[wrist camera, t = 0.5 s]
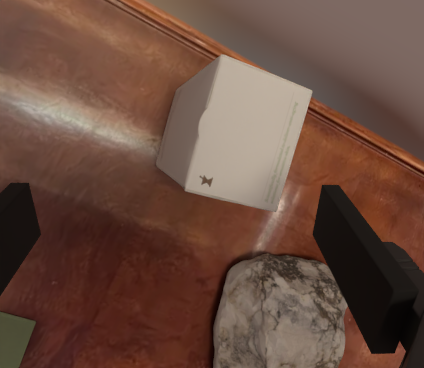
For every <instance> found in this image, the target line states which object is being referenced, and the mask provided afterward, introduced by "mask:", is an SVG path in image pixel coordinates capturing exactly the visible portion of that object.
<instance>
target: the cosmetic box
mask: <svg viewBox="0 0 424 368" xmlns="http://www.w3.org/2000/svg"><path fill="white" fill-rule="evenodd" d="M311 95H312V90H309V89H307V88H305V87H303V86H300V85H298V84H296V83H293V82H291V81H288V80H286V79H283V78H281V77H278V76H276V75H274V74H271V73H269V72H266V71H264V70H261V69H259V68H256V67H254V66H251V65H249V64H246V63H243V62H241V61H238V60H236V59H233V58H231V57H228V56H226V55H220V56H219V57H218V58H217V59H215V60H214V61H213V62H211V63H210V64H209V65H207V66H206V67H205V68H204V69H202V70H201V71H200V72H198V73H197V74H196V75H195V76H193V77H192V78H191V79H189V80H188V81H187V82H186V83H184V84H183V85H182V86H180V87H179V88H178V89H177V90H176V92H175V95H174V99H173V102H172V106H171V109H170V113H169V116H168V120H167V124H166V127H165V131H164V134H163V138H162V142H161V145H160V149H159V153H158V157H157V161H156V166H157V167H158V168H159V169H160V170H162V171H163V172H164V173H166V174H167V175H168V176H170V177H171V178H172V179H173V180H175V181H176V182H177V183H179V184H180V185H181V186H182V187H183V188H184V190H185V191H186V192H191V193H195V194H199V195H203V196H207V197H211V198H215V199H220V200H224V201H229V202H233V203H237V204H242V205H246V206H250V207H255V208H259V209H263V210H268V211H273V212H276V211H277V208H278V205H279V201H280V198H281V194H282V191H283V187H284V184H285V181H286V178H287V174H288V171H289V168H290V165H291V161H292V158H293V155H294V151H295V148H296V145H297V142H298V139H299V135H300V132H301V129H302V125H303V122H304V119H305V115H306V112H307V108H308V105H309V101H310V98H311Z"/></svg>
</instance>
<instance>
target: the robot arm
mask: <svg viewBox="0 0 424 368" xmlns="http://www.w3.org/2000/svg"><path fill="white" fill-rule="evenodd" d="M40 235H41V232H40V228H39V224H38V220H37V216H36V211H35V207H34V203H33V199H32V195H31V190H30V186H29V183H10V184H9V185H8V186H7V187H6V188H5V189H4V190H3V191H2V192H1V193H0V296H1V294H2V293H3V291H4V290H5V288H6V287H7V285H8V283H9V282H10V280H11V279H12V277H13V276H14V274H15V273H16V271H17V270H18V268H19V267H20V265H21V264H22V262H23V261H24V259H25V258H26V256H27V255H28V253H29V252H30V250H31V249H32V247H33V246H34V244H35V243H36V241H37V240H38V238H39V237H40ZM313 236H314V238H315V240H316V242H317V244H318V246H319V248H320V250H321V252H322V254H323V256H324V258H325V260H326V263H327V265H328V267H329V269H330V271H331V273H332V275H333V277H334V279H335V281H336V283H337V285H338V287H339V289H340V291H341V293H342V295H343V297H344V299H345V301H346V303H347V305H348V307H349V309H350V311H351V313H352V315H353V317H354V319H355V321H356V323H357V325H358V327H359V329H360V331H361V333H362V335H363V337H364V339H365V341H366V343H367V346H368V348H369V350H370V352H371V354H386V353H395V350H396V348H397V345H398V343H399V340H400V342H401V344H402V346H403V347H404V349H405V351H406V353H405V355H404V358H403V360H402V362H401V365H400V367H399V368H424V273H423V272H422V271H421V270H419V267H418V266H417V265H416V263H415V262H413V260H412V259H411V257H410V256H409V255H408V254H407V253H406V251H405V250H403V249H402V248H400V247H399V246H398V245H396V244H395V243H393V242H382V241H381V240H380V238H379V237H378V236H377V235H376V233H375V232H374V231H373V229H372V228H371V227H370V225H369V224H368V223H367V221H366V220H365V219H364V218H363V216H362V215H361V214H360V212H359V211H358V210H357V208H356V207H355V206H354V205H353V203H352V202H351V201H350V199H349V198H348V197H347V195H346V194H345V193H344V191H343V190H342V189H341V188H340V186H339V185H322V189H321V194H320V199H319V204H318V209H317V214H316V220H315V225H314V230H313Z"/></svg>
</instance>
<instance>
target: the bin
mask: <svg viewBox="0 0 424 368" xmlns="http://www.w3.org/2000/svg"><path fill="white" fill-rule="evenodd" d="M35 323H36V321H33V320H29V319H25V318H22V317H18V316H14V315H10V314H7V313H3V312H0V368H19V366H20V363H21V361H22V358H23V355H24V353H25V350H26V347H27V345H28V342H29V339H30V337H31V334H32V331H33V329H34V326H35Z"/></svg>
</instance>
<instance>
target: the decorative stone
mask: <svg viewBox="0 0 424 368" xmlns="http://www.w3.org/2000/svg"><path fill="white" fill-rule="evenodd" d="M346 308H347V303H346V301H345V299H344V297H343V295H342V293H341V291H340V289H339V287H338V285H337V283H336V281H335V279H334V277H333V275H332V273H331V271H330V269H329V267H328V266H327V265H325V264H323V263H321V262H319V261H316V260H305V259H303V258H299V257H293V256H288V255H284V256H274V255H271V254H263V255H260V256H258V257H256V258H254V259H252V260H244V261H241V262H239V263H237V264H236V265H234V266H233V267H232V268H231V269H230V270H229V271H228V273H227V276H226V282H225V285H224V288H223V294H222V297H221V301H220V305H219V308H218V312H217V315H216V318H215V322H214V327H213V332H214V334H213V340H214V348H215V353H214V359H213V368H338V365H339V363H340V361H341V359H342V356H343V352H344V347H345V331H344V322H343V317H344V315H345V309H346Z"/></svg>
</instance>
